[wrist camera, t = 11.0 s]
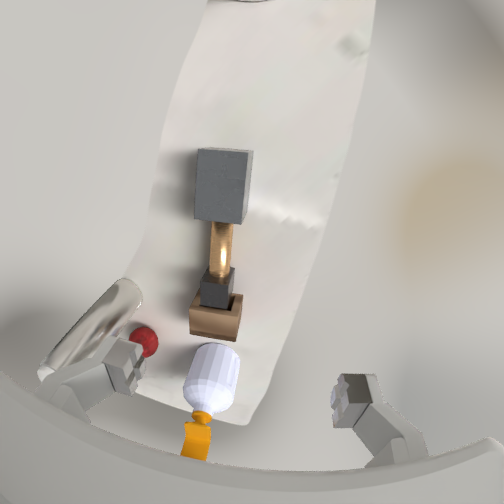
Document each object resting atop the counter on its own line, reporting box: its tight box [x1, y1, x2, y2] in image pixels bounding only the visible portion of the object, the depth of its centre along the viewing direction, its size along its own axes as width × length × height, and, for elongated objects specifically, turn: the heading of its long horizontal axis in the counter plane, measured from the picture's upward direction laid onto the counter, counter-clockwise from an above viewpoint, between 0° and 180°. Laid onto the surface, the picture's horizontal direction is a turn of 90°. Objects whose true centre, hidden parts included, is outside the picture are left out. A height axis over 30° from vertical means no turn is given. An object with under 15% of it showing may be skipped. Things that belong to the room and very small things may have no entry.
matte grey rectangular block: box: [194, 147, 253, 225], centre depth 35 cm, size 9×6×6 cm
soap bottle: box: [180, 343, 240, 461], centre depth 40 cm, size 9×9×25 cm
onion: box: [129, 327, 158, 358], centre depth 47 cm, size 6×6×8 cm
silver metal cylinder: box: [37, 279, 143, 382], centre depth 36 cm, size 6×6×25 cm
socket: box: [189, 288, 243, 342], centre depth 43 cm, size 5×7×6 cm
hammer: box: [200, 221, 235, 310], centre depth 40 cm, size 17×4×6 cm, turn 174°
